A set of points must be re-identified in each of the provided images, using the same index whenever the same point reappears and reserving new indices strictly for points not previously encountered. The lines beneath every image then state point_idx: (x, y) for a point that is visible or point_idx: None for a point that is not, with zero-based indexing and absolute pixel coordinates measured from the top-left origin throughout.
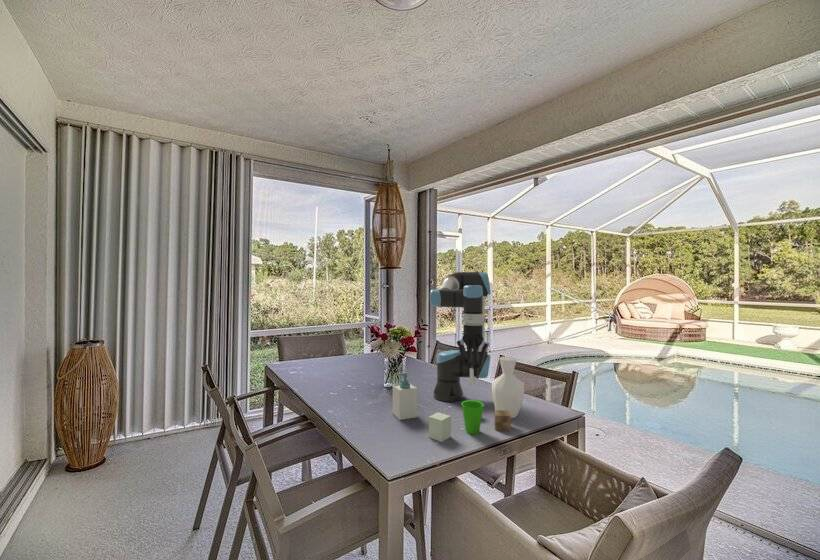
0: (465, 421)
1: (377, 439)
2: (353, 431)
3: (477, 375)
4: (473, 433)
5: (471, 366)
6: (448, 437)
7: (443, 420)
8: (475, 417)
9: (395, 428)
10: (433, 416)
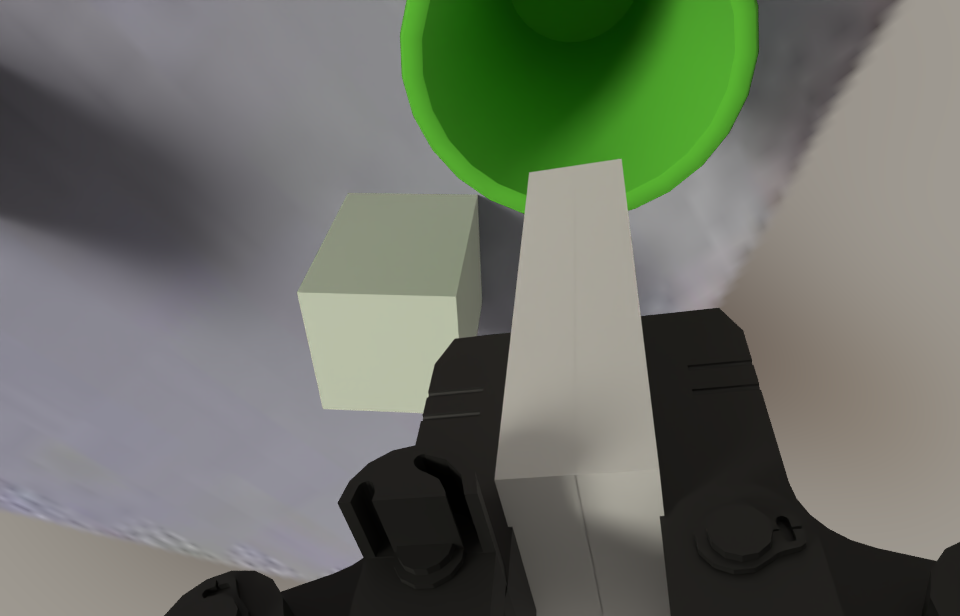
0: (528, 90)
1: (185, 472)
2: (12, 475)
3: (726, 325)
4: (611, 23)
5: (513, 565)
6: (478, 227)
7: None
8: (657, 100)
9: (95, 324)
10: (348, 388)
